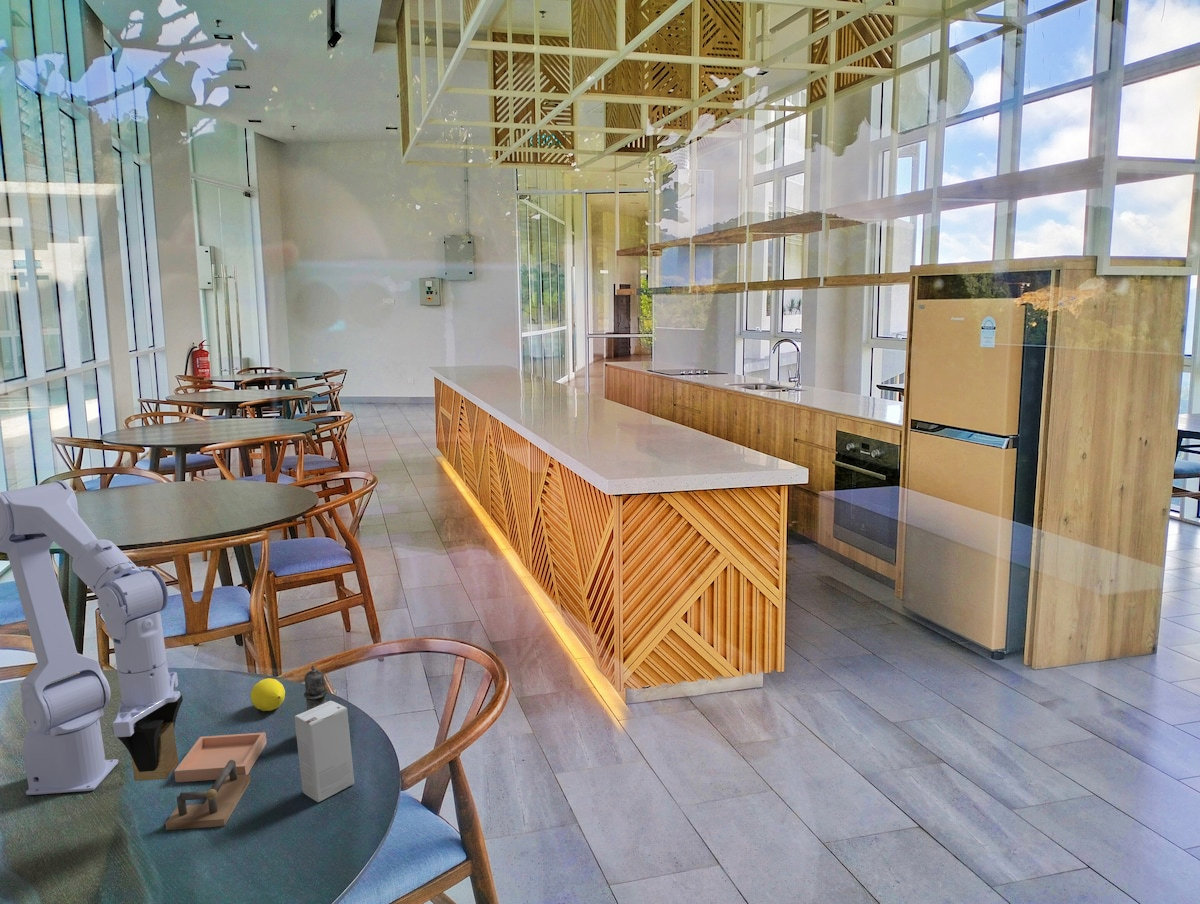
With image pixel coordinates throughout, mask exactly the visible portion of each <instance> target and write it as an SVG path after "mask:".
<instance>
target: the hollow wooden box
mask: <svg viewBox="0 0 1200 904" xmlns="http://www.w3.org/2000/svg"><path fill="white" fill-rule="evenodd" d="M130 757H131V759H130V761H131V765H132V766H131V767H132V773H133V780H134V782H142V781H159V780H167V779H168V778H169V776H170V774H172V772H174V770H175V769H176V768H177V767H178V765H179V758H178V757H179V756H178V749H177V742H176V735H175V727H174V725H173V722H163V724H162V726H161V729H160V733H159V739H158V764H157V768H156V770H155V771H146V772H139V771H138V769H137V767H136V765H135V763H134V761H133V759H132V756H131V755H130Z"/></svg>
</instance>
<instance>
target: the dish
mask: <svg viewBox="0 0 1200 904" xmlns="http://www.w3.org/2000/svg"><path fill="white" fill-rule="evenodd" d="M267 742H268V741H267V734H266V732H265V731H263V732H252V733H251V732H250V733H237V734H223V735H222V734H220V735H207V736H199V738H198V739H197V740H196V741H195V743H194V745H192V747H191V748H190V750H189V751H188V752H187V754H186V755H185V756H184V757H183V759H182V760H181V762H180V763H178V764H177V766H176V767H175V768H174V770H173V772H174V780H175V783H185V782H198V781H200V782H201V781H213V780H215V781H216V780H217V778H218V777H219V775H220V774H221V772H222V771H223V769H224V768H225V766H226V765H227V763H228V762H229V761H230V760H234V761H235V762H236V770H237V775H247V774H249V773H250V772H251V770H252V768H253V766H254V765H255V763H256V762H257V760H258V758H259V757H260V755H261V753H262V752H263V751H264V748H265V746H266V745H267ZM228 776H229V775H228Z"/></svg>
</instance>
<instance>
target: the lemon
mask: <svg viewBox="0 0 1200 904" xmlns="http://www.w3.org/2000/svg"><path fill="white" fill-rule="evenodd" d="M249 695H250V699H251V704H252V705H253V706H254V707H255V709H257V710H260V711H262V712H268V711H269V712H270V711H274V710H276V709H278V708H279V707H280V706H281V705H282V704H283V702H284V701H285V697H286V696H285V695H286V690H285V687H284V685H283V684H282V683H281V682H280V681H279V680H277V679H275V678H269V677H267V678H264V679H261V680H259V681H258V682H256V684H254V685H253V686H252V689H251V692H250V694H249Z"/></svg>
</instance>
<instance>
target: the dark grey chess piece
mask: <svg viewBox="0 0 1200 904" xmlns="http://www.w3.org/2000/svg"><path fill="white" fill-rule="evenodd" d="M310 669H311V670H310V671H308V672H307V673H305V676H304V686H305V687H304V688H305V692H304V693H303V697H304V698H305V702H306V709H305V710H306V711H308V710H310V709H312V708H315V707H317V706H319V705H322V704H324V703H326V702H328V701H327V694H328V689H326V688H325V677H324V676H325V675H324V673H323V672H322V671H321V670H318V669H316V667H315V666H314V665H312V666H311V668H310Z"/></svg>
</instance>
